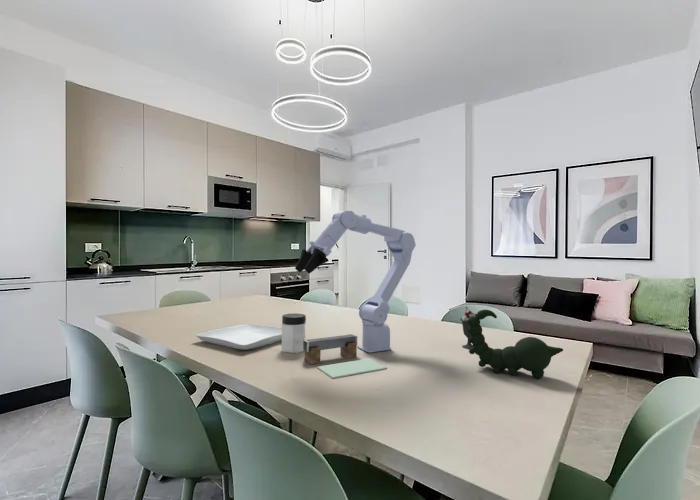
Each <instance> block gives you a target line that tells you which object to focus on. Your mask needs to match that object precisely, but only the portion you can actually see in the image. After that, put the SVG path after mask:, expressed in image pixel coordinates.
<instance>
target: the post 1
mask: <svg viewBox="0 0 700 500" xmlns="http://www.w3.org/2000/svg"><path fill="white" fill-rule="evenodd" d="M321 351H322V350H321V348H320V347H316V348H311V352H306V351H304V354H303V355H304V359H303V360H305V361H306V362H307V363H309V364H310V365H314V364H321V356H322V355H321V353H322V352H321Z"/></svg>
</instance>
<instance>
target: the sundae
mask: <svg viewBox="0 0 700 500" xmlns="http://www.w3.org/2000/svg"><path fill="white" fill-rule="evenodd" d="M467 310H468V306H465V312H464V315H463V316H462V317H461V318H460V319H459V320H460V321H461V323H462V332H463V335H464V336H465V337H466V338H467V340H468V339H469V338H470V336H471V334H470V333H468V331H467V329H468V328H469V326H470V325H469V324H468V323H467V320H469V318H470V317H472V316H476V315H477V313H474V312H472V310H468V312H467ZM472 346H473V344H472V343H469V342H468V341H467V343H466V344H465V345H464V344H463V345H462V346H461V347H462V348H463V349H467V350H470V349H471V348H472Z"/></svg>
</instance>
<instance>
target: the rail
mask: <svg viewBox="0 0 700 500" xmlns="http://www.w3.org/2000/svg"><path fill="white" fill-rule="evenodd" d="M354 342H356V343H357V344H358V335H356V334H353V333H352V334H343V335H334V336H326V337H319V338H310V339H309V338H308V339H305V340H303V350H304V351H303V352H305V351H306V352H311V348H316V347H320V348H321V351H324V350H333V349H340V347H348V343H354Z"/></svg>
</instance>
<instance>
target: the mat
mask: <svg viewBox="0 0 700 500" xmlns="http://www.w3.org/2000/svg"><path fill="white" fill-rule="evenodd" d="M316 369H318V370H319V371H320V372H322V373H324V374H325V375H326V376H328V377H329V378H331V379H338V378H343V377H348V376H354V375H360V374H365V373H370V372H371V373H372V372H375V371H381V370H387V369H388V368H387V366H385V365H383V364H380V363H379V362H377V361H375V360H372V359H370V358H363V359H356V360H351V361H345V362H339V363H334V364H333V363H331V364H326V365H320V366H317V367H316Z"/></svg>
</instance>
